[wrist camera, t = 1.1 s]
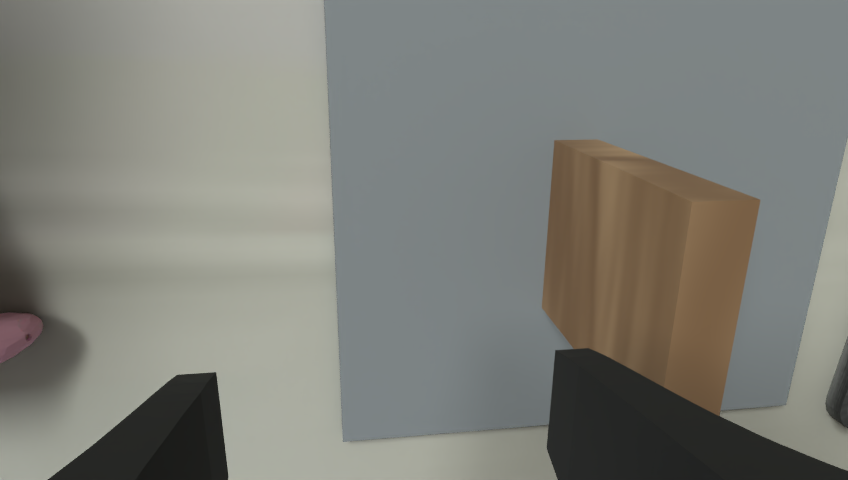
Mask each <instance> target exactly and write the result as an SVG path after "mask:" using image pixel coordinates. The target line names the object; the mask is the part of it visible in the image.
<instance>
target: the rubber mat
mask: <svg viewBox="0 0 848 480" xmlns="http://www.w3.org/2000/svg"><path fill="white" fill-rule="evenodd" d="M324 9H325V33H326V56H327V79H328V103H329V126H330V149H331V173H332V196H333V219H334V243H335V266H336V289H337V313H338V336H339V359H340V383H341V406H342V429H343V442H346V441H358V440H370V439H382V438H395V437H407V436H419V435H431V434H443V433H455V432H467V431H479V430H491V429H503V428H515V427H527V426H539V425H549V417H550V405H551V394H552V382H553V370H554V359H555V350H567V349H573V347H572V346H571V345H570V343H569V342H568V341H567V340H566V338H565V337H564V336H563V334H562V333H561V332H560V331H559V329H558V328H557V327H556V325H555V324H554V323H553V322H552V320H551V319H550V318H549V316H548V315H547V314H546V312H545V311H544V310H543V309H542V297H543V284H544V270H545V257H546V244H547V231H548V218H549V204H550V191H551V178H552V165H553V152H554V140H594V139H598V140H601V141H604V142H606V143H609V144H612V145H614V146H617V147H620V148H622V149H625V150H628V151H631V152H633V153H636V154H639V155H641V156H644V157H647V158H649V159H652V160H655V161H658V162H660V163H663V164H666V165H668V166H671V167H674V168H676V169H679V170H682V171H685V172H687V173H690V174H693V175H695V176H698V177H701V178H703V179H706V180H709V181H712V182H714V183H717V184H720V185H722V186H725V187H728V188H730V189H733V190H736V191H739V192H741V193H744V194H747V195H749V196H752V197H755V198H757V199H760V206H759V211H758V216H757V221H756V227H755V232H754V237H753V242H752V247H751V253H750V258H749V263H748V268H747V274H746V279H745V284H744V289H743V295H742V300H741V305H740V310H739V316H738V321H737V326H736V331H735V337H734V342H733V347H732V352H731V358H730V363H729V368H728V373H727V378H726V384H725V389H724V394H723V399H722V405H721V410H732V409H744V408H757V407H769V406H781V405H786V402H787V398H788V394H789V389H790V385H791V381H792V376H793V372H794V368H795V363H796V359H797V355H798V350H799V346H800V342H801V337H802V333H803V329H804V324H805V320H806V316H807V311H808V307H809V303H810V298H811V294H812V290H813V285H814V281H815V277H816V272H817V268H818V264H819V259H820V255H821V251H822V246H823V242H824V238H825V233H826V229H827V225H828V220H829V216H830V212H831V207H832V203H833V199H834V194H835V190H836V185H837V181H838V177H839V172H840V168H841V164H842V159H843V155H844V151H845V146H846V142H847V138H848V0H324Z"/></svg>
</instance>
